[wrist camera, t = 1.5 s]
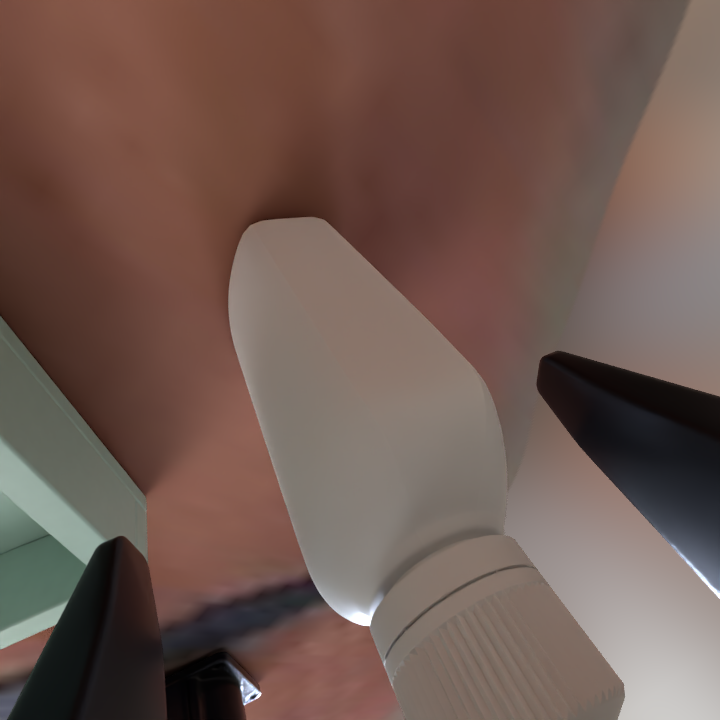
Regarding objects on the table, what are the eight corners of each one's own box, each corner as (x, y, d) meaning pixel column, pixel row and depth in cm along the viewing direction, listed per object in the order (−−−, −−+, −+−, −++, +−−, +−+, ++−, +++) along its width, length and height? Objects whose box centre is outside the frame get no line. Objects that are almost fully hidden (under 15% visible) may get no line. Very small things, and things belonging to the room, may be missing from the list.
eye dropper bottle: (393, 252, 13) (954, 718, 4) (307, 398, 15) (566, 934, 6) (259, 183, 11) (954, 995, 2) (176, 369, 12) (287, 1216, 4)
